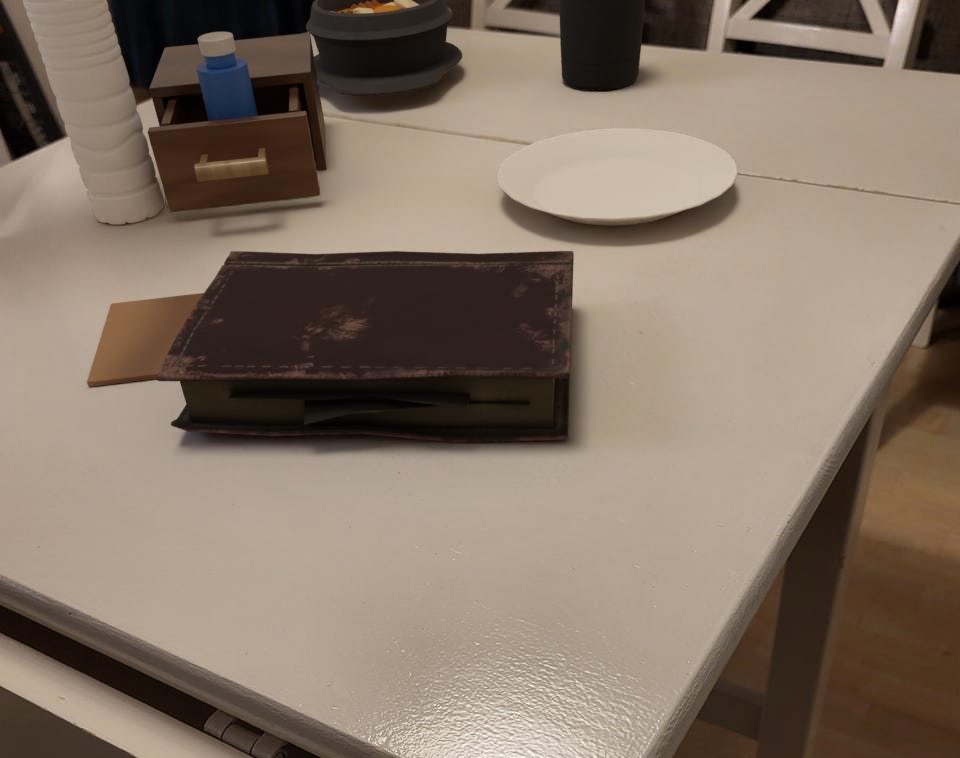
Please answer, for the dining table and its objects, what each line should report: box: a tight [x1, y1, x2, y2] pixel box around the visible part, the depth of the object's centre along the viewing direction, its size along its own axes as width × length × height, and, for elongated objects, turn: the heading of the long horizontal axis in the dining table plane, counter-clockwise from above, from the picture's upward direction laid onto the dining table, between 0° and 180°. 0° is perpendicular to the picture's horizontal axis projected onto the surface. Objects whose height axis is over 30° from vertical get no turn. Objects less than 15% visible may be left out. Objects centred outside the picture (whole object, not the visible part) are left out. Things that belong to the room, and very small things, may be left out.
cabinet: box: [149, 32, 328, 172], centre depth 97 cm, size 14×15×9 cm
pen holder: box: [558, 0, 646, 92], centre depth 107 cm, size 9×9×10 cm
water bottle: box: [22, 0, 165, 226], centre depth 82 cm, size 9×6×25 cm
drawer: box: [147, 83, 321, 213], centre depth 89 cm, size 17×14×7 cm
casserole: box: [305, 0, 463, 97], centre depth 113 cm, size 25×19×8 cm
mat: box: [86, 292, 204, 388], centre depth 72 cm, size 10×12×1 cm
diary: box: [156, 250, 575, 444], centre depth 65 cm, size 19×25×5 cm
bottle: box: [196, 31, 258, 121], centre depth 87 cm, size 4×4×11 cm
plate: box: [496, 127, 739, 227], centre depth 86 cm, size 21×21×2 cm
